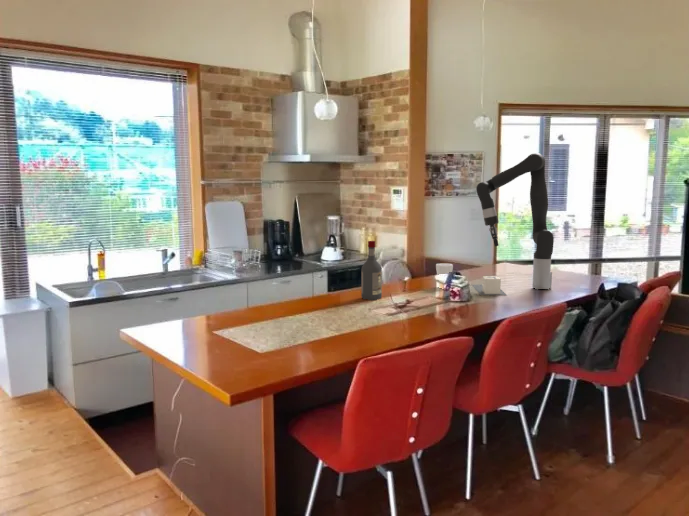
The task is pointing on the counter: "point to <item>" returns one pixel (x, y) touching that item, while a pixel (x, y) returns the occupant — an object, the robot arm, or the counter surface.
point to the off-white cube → (491, 284)
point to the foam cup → (443, 268)
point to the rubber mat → (479, 290)
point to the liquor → (371, 276)
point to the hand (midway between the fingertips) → (496, 246)
